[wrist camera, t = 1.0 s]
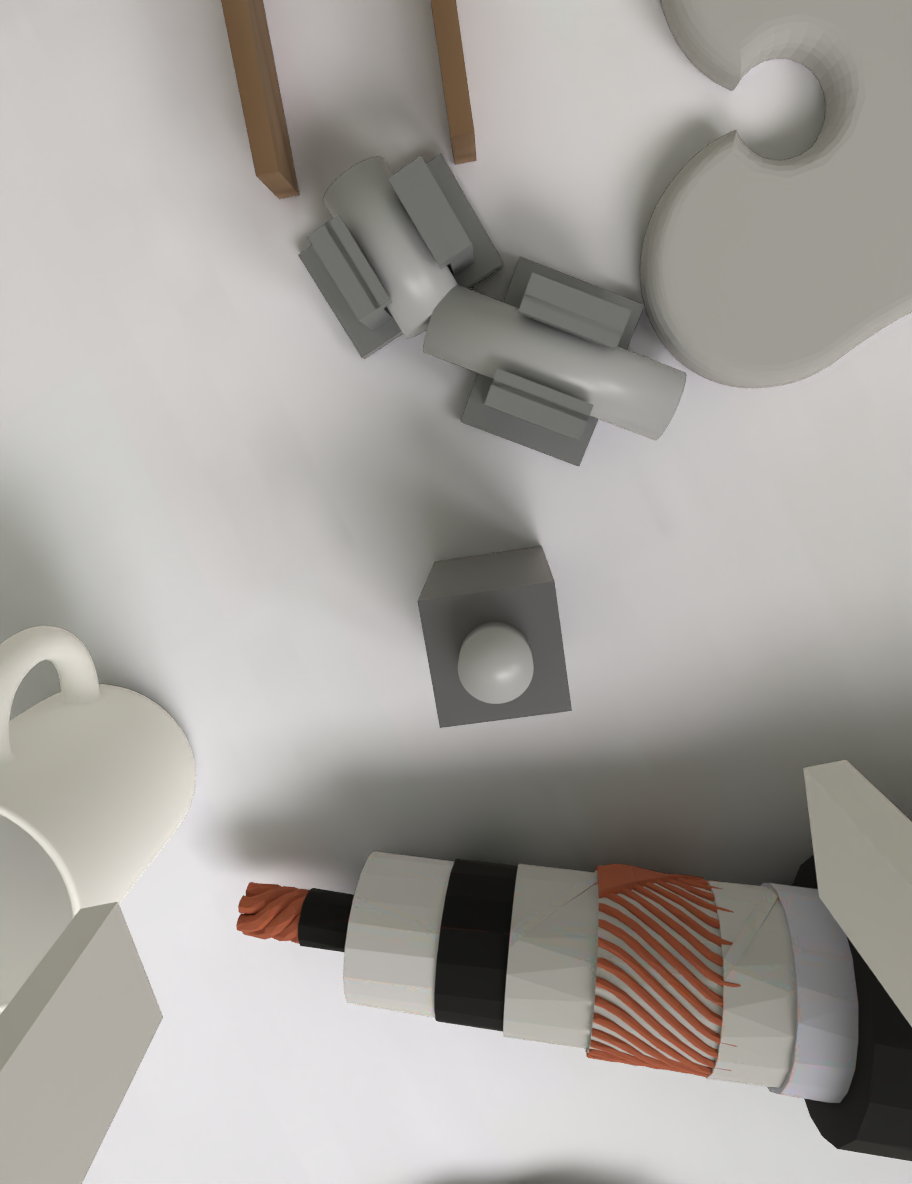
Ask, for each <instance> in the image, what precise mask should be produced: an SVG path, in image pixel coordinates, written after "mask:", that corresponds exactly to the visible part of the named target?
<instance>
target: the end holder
mask: <svg viewBox="0 0 912 1184" xmlns="http://www.w3.org/2000/svg"><path fill="white" fill-rule="evenodd" d="M221 2H222V7H223V12H224V17H225V22H226V27H227V32H228V37H229V42H230V47H231V52H232V57H233V62H234V67H235V72H236V77H237V82H238V87H239V92H240V97H241V102H242V107H243V112H244V117H245V122H246V127H247V132H248V137H249V142H250V147H251V152H252V157H253V162H254V167H255V173H256V176H257V177H258V178H259V179H260V180H261V181H262V182H263V183H264V184H265V185H266V186H267V187H268V188H269V189H270V190H271V191H272V192H273V193H274V194H275V195H276V196H277V197H278V198H279V199H281V198H286V197H292V196H297V195H299V190H298V185H297V179H296V174H295V169H294V164H293V158H292V153H291V148H290V142H289V137H288V132H287V127H286V121H285V116H284V111H283V105H282V100H281V95H280V89H279V84H278V79H277V74H276V68H275V63H274V58H273V52H272V47H271V42H270V37H269V31H268V26H267V21H266V15H265V10H264V5H263V0H221ZM431 5H432V12H433V19H434V26H435V33H436V39H437V46H438V53H439V60H440V67H441V74H442V80H443V87H444V94H445V101H446V108H447V115H448V121H449V128H450V135H451V141H452V148H453V154H454V160H455V165H456V164H461V163H466V162H471V161H476V148H475V135H474V127H473V120H472V112H471V105H470V98H469V91H468V84H467V77H466V70H465V63H464V55H463V48H462V41H461V34H460V27H459V20H458V13H457V5H456V0H431Z"/></svg>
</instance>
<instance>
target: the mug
mask: <svg viewBox="0 0 912 1184" xmlns="http://www.w3.org/2000/svg"><path fill="white" fill-rule="evenodd" d="M43 660H50V661H51V662H52V663H53V664H54V666H55V668H56V670H57V672H58V676H59V680H60V687H61V692H59V693H56V694H54V695H52V696H50V697H48V698H46V699H44V700H42V701H41V702H39V703H37V704H36V705H34V706H32V707H31V708H29V709H27V710H26V711H24V712H23V713H21V714H19V715H18V716H16V717H14V718H13V719H11V720H10V712H11V706H12V702H13V699H14V696H15V693H16V691H17V689H18V686H19V685H20V683H21V681H22V680H23V678H24V677H25V675H26V674H27V673H28V672H29V670H30V669H31V668H33V667H34V666H35V665H36V664H37V663H38V662H41V661H43ZM9 720H10V721H9ZM195 786H196V770H195V762H194V758H193V754H192V750H191V748H190V745H189V742H188V740H187V738H186V736H185V735H184V733H183V731H182V730H181V728H180V727H179V725H178V724H177V723H176V721H175V720H174V719H173V718H172V717H171V716H170V715H169V714H168V713H167V712H166V711H165V710H164V709H163V708H162V707H161V706H159V705H158V704H156V703H155V702H154V701H152V700H151V699H149V698H147V697H145V696H143V695H141V694H140V693H137V692H134V691H132V690H129V689H126V688H122V687H118V686H113V685H106V684H99V683H98V678H97V673H96V669H95V666H94V663H93V660H92V657H91V655H90V653H89V651H88V649H87V648H86V647H85V645H84V644H83V642H82V641H80V640H79V639H78V638H77V637H76V636H75V635H73V634H72V633H70V632H68V631H66V630H64V629H62V628H57V627H52V626H37V627H32V628H29V629H25V630H22V631H20V632H18V633H16V634H14V635H13V636H11V637H9V638H8V639H6V640H5V641H4V642H3V643H1V644H0V1011H3V1010H4V1009H5V1008H6V1007H7V1005H8V1004H9V1003H10V1001H11V1000H12V999H13V997H14V996H15V995H16V993H17V992H18V991H19V989H20V988H21V987H22V985H23V984H24V983H25V982H26V980H27V979H28V978H29V976H30V975H31V974H32V972H33V971H34V970H35V968H36V967H37V966H38V964H39V963H40V962H41V960H42V959H43V958H44V956H45V955H46V954H47V952H48V951H49V950H50V948H51V947H52V946H53V944H54V943H55V942H56V940H57V939H58V938H59V936H60V935H61V934H62V932H63V931H64V930H65V928H66V927H67V926H68V924H69V923H70V922H71V920H72V919H73V918H74V916H75V915H76V914H77V913H78V911H79V910H80V909H82V908H87V907H92V906H97V905H102V904H107V903H113V902H118V903H119V904H120V902H121V901H122V900H123V899H124V897H125V896H126V895H127V893H128V892H129V891H130V890H131V888H132V887H133V886H134V884H135V883H136V882H137V881H138V879H139V878H140V877H141V875H142V874H143V873H144V872H145V870H146V869H147V868H148V866H149V865H150V864H151V863H152V861H153V860H154V859H155V857H156V856H157V855H158V854H159V852H160V851H161V850H162V848H163V847H164V846H165V845H166V843H167V842H168V841H169V839H170V838H171V837H172V835H173V834H174V833H175V831H176V830H177V829H178V827H179V826H180V824H181V823H182V821H183V819H184V818H185V816H186V814H187V812H188V810H189V807H190V805H191V802H192V799H193V796H194V791H195Z"/></svg>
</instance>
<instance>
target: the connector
mask: <svg viewBox="0 0 912 1184" xmlns="http://www.w3.org/2000/svg"><path fill="white" fill-rule="evenodd" d="M418 606H419V611H420V617H421V623H422V628H423V634H424V640H425V645H426V651H427V657H428V662H429V668H430V674H431V679H432V685H433V691H434V696H435V702H436V708H437V713H438V719H439V725H440V728H442V727H450V726H458V725H465V724H473V723H481V722H488V721H496V720H504V719H512V718H519V717H527V716H535V715H542V714H550V713H558V712H566V711H572V709H571V701H570V694H569V687H568V679H567V672H566V664H565V657H564V650H563V642H562V635H561V627H560V620H559V612H558V605H557V598H556V590H555V583H554V579H553V576H552V574H551V571H550V568H549V565H548V562H547V560H546V557H545V554H544V551H543V548H542V546H538V547H531V548H524V549H517V550H511V551H504V552H497V553H491V554H484V555H477V556H470V557H464V558H457V559H450V560H444V561H437V562H434V565H433V567H432V569H431V572H430V574H429V576H428V578H427V581H426V583H425V585H424V588H423V590H422V592H421V595H420V597H419V599H418Z"/></svg>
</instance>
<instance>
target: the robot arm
mask: <svg viewBox="0 0 912 1184" xmlns="http://www.w3.org/2000/svg"><path fill="white" fill-rule="evenodd" d="M803 770H804V778H805V786H806V795H807V803H808V811H809V819H810V827H811V835H812V843H813V852H814V860H815V868H816V876H817V884H818V892H819V897H820V899H821V900H822V902H823V903H824V904H825V906H826V907H827V909H828V910H829V911H830V913H831V914H832V916H833V917H834V918H835V920H836V921H837V923H838V924H839V925H840V927H841V928H842V930H843V931H844V933H845V934H846V935H847V937H848V938H849V940H850V941H851V942H852V944H853V945H854V947H855V948H856V949H857V951H858V952H859V954H860V955H861V956H862V958H863V959H864V961H865V962H866V963H867V965H868V966H869V968H870V969H871V970H872V972H873V973H874V975H875V976H876V977H877V979H878V980H879V982H880V983H881V985H882V986H883V987H884V989H885V990H886V992H887V993H888V994H889V996H890V997H891V999H892V1000H893V1001H894V1003H895V1004H896V1006H897V1007H898V1008H899V1010H900V1011H901V1013H902V1014H903V1015H904V1017H905V1018H906V1020H907V1021H908V1022H909V1024H910V1025H911V1027H912V822H911V821H910V820H909V819H908V818H907V817H906V816H905V815H904V814H903V813H902V812H901V811H900V810H899V809H898V808H897V807H896V806H895V805H893V804H892V803H891V802H890V801H889V800H888V799H887V798H886V797H885V796H884V795H883V794H882V793H881V792H880V791H879V790H878V789H877V788H876V787H874V786H873V785H872V784H871V783H870V782H869V781H868V780H867V779H866V778H865V777H864V776H863V775H862V774H861V773H860V772H859V771H858V770H856V769H855V768H854V767H853V766H852V765H851V764H850V763H849V762H848V761H847V760H841V761H836V762H831V763H825V764H820V765H815V766H810V767H805V768H803ZM162 1018H163V1016H162V1013H161V1011H160V1008H159V1005H158V1003H157V1000H156V998H155V995H154V993H153V990H152V988H151V985H150V983H149V980H148V977H147V975H146V972H145V970H144V967H143V965H142V962H141V960H140V957H139V954H138V952H137V949H136V947H135V944H134V942H133V939H132V937H131V934H130V931H129V929H128V926H127V924H126V921H125V919H124V916H123V914H122V911H121V908H120V906H119V903H118V902H113V903H107V904H102V905H97V906H92V907H87V908H82V909H80V910H79V911H78V913H77V914H76V915H75V916H74V918H73V919H72V920H71V922H70V923H69V924H68V926H67V927H66V928H65V930H64V931H63V932H62V934H61V935H60V936H59V938H58V939H57V940H56V942H55V943H54V944H53V946H52V947H51V948H50V950H49V951H48V952H47V954H46V955H45V956H44V958H43V959H42V960H41V962H40V963H39V964H38V966H37V967H36V968H35V970H34V971H33V972H32V974H31V975H30V976H29V978H28V979H27V980H26V982H25V983H24V984H23V985H22V987H21V988H20V989H19V991H18V992H17V993H16V995H15V996H14V997H13V999H12V1000H11V1001H10V1003H9V1004H8V1005H7V1007H6V1008H5V1009H4V1011H3V1012H2V1013H1V1015H0V1184H82V1182H83V1180H84V1178H85V1176H86V1174H87V1172H88V1170H89V1168H90V1166H91V1164H92V1162H93V1160H94V1158H95V1155H96V1153H97V1151H98V1149H99V1147H100V1145H101V1143H102V1141H103V1139H104V1137H105V1135H106V1133H107V1131H108V1129H109V1127H110V1125H111V1123H112V1121H113V1119H114V1117H115V1114H116V1112H117V1110H118V1108H119V1106H120V1104H121V1102H122V1100H123V1098H124V1096H125V1094H126V1092H127V1090H128V1088H129V1086H130V1084H131V1082H132V1080H133V1078H134V1076H135V1073H136V1071H137V1069H138V1067H139V1065H140V1063H141V1061H142V1059H143V1057H144V1055H145V1053H146V1051H147V1049H148V1047H149V1045H150V1043H151V1041H152V1039H153V1037H154V1035H155V1032H156V1030H157V1028H158V1026H159V1024H160V1022H161V1020H162Z"/></svg>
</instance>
